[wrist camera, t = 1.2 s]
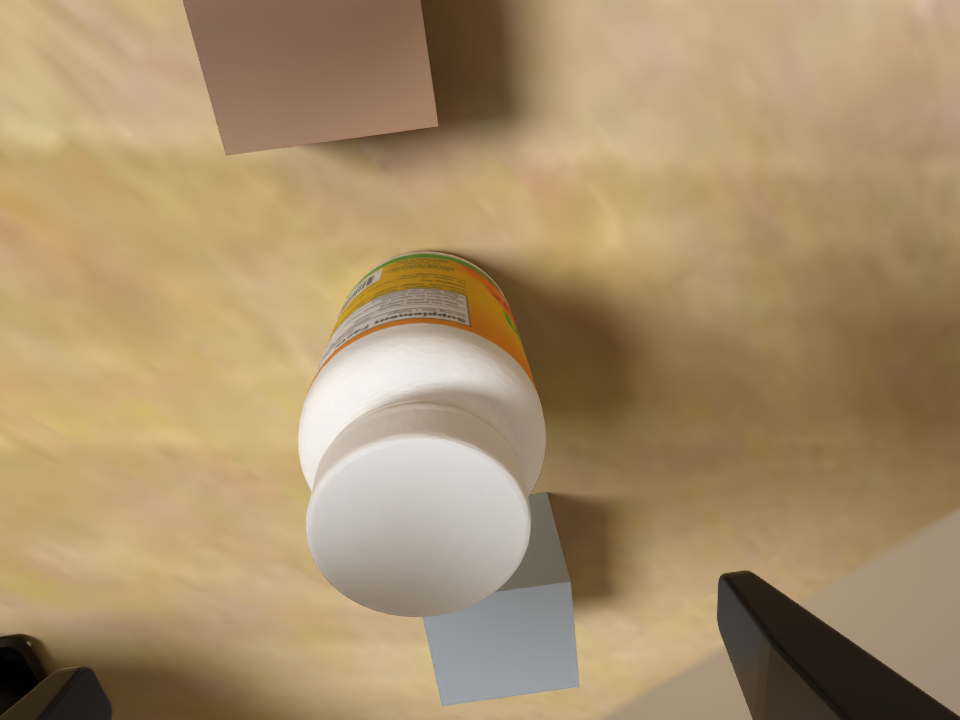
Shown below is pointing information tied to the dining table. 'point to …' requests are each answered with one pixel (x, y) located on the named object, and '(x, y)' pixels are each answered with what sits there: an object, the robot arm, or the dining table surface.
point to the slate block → (512, 628)
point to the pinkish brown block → (312, 69)
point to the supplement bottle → (421, 440)
